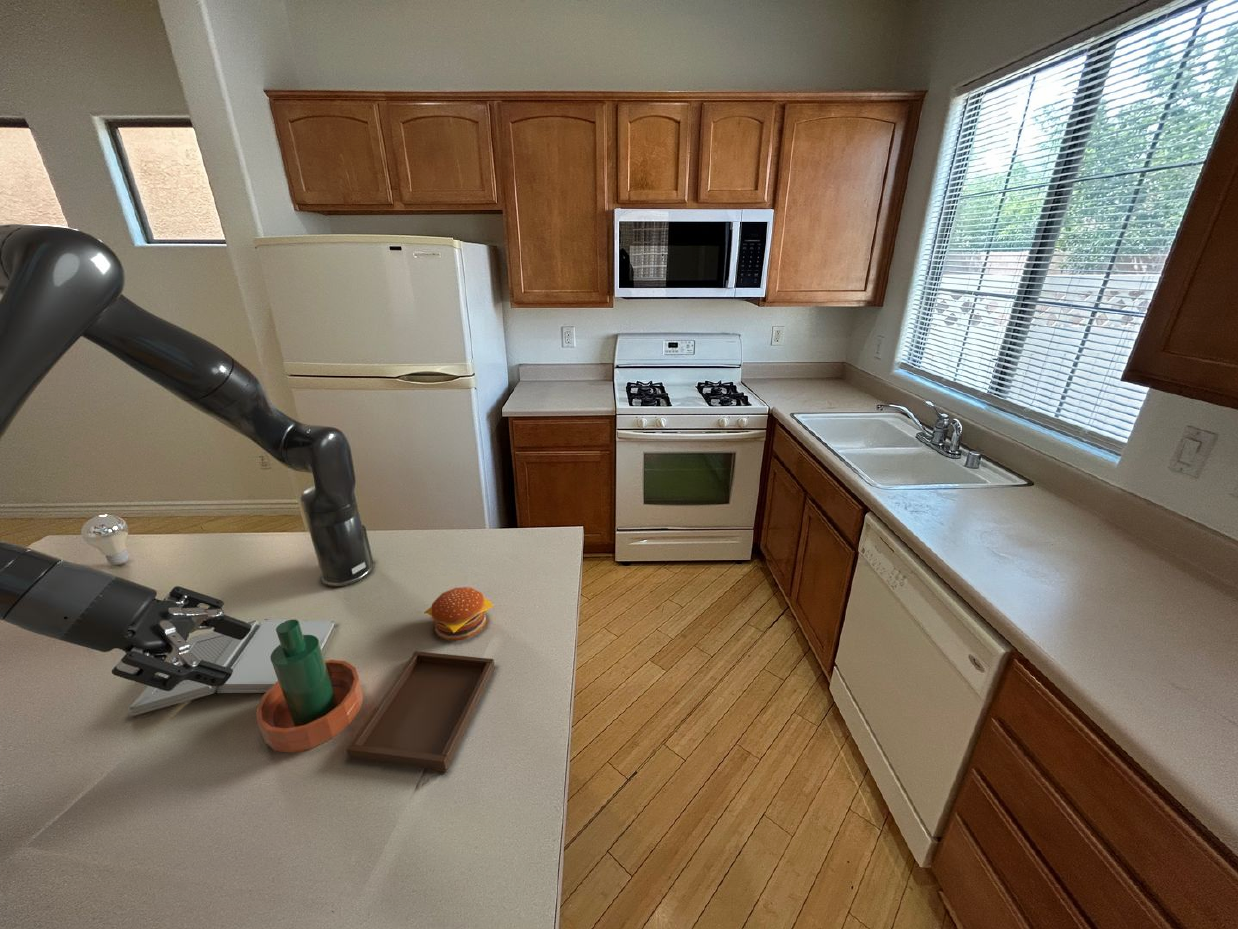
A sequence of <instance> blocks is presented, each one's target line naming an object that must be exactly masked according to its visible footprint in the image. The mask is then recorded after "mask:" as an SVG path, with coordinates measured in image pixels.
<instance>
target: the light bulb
mask: <svg viewBox="0 0 1238 929" xmlns="http://www.w3.org/2000/svg"><path fill="white" fill-rule="evenodd" d="M129 533H130V528H129V524H128V523H127V521H126V520H125V519H123V518H122V517H120V516H118V515H114V514H100V515H96V516H94V517H91V518H89V519H88V520H87V521H86V522H85V523H83V525H82V527H81V530H80V535H81V539H82V540H83V542H85V543H86V544H87V545H89V546H91V547H93V548H95V549H97V550H98V551H99V552H100V553H101V554H102V555H103V556H104V557H105V559H106V561H107V563H108V564H110V565H113V566H122V565H124V564H126V562H127V561H128V560H129V558H130V555H129V553H128V551H127V543H126V542H127V541H126V540H127V538H128V536H129Z"/></svg>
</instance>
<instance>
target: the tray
mask: <svg viewBox="0 0 1238 929" xmlns="http://www.w3.org/2000/svg"><path fill="white" fill-rule="evenodd" d="M495 669H496V666H495V659H494V658H486V657H477V656H467V655H456V654H449V653H448V654H445V653H437V652H427V651H416V650H415V651H414V652H413V654H412V655H411V656H410V658H409V659H408V661H407V662H406V663H405V665H404V666H403V668H402V669H401V671H400V672H399V674H398V675H397V676H396V678H395V679H394V681H393V682H392V684H391V685H390V686H389V688H388V689H387V691H386V692H385V694H384V695H383V696H382V698H381V699H380V701H379V702H378V704H377V705H376V706H375V708H374V709H373V711H372V712H371V714H370V715H369V716H368V718H367V719H366V721H365V723H364V724H363V726H361V728H360V729H359V731H358V732H357V734H356V735H355V737H354V738H353V739H352V741H351V742H350V743H349V745H348V747H347V748H346V753H347V756H348V758H349V759H358V760H364V761H374V762H380V763H388V764H389V763H390V764H397V765H405V766H412V767H421V768H424V771H432V772H439V773H447V772H448V770H449V767H450V765H451V764H452V761H453V759H454V757H455V755H456V753H457V750H458V748H459V746H460V745H461V743H462V740H463V737H464V736H465V733H466V731H467V729H468V727H469V724H470V723H471V720H472V718H473V716H474V714H475V712H476V710H477V708H478V705H479V703H480V701H481V699H482V697H483V695H484V693H485V691H486V689H487V686H488V684H489V682H490V680H491V679H492V678H491V677H492V675H493V673H494V671H495Z"/></svg>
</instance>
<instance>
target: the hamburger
mask: <svg viewBox="0 0 1238 929" xmlns="http://www.w3.org/2000/svg"><path fill="white" fill-rule="evenodd" d="M493 607H495V605H494V604H493V603H492V602H491V601H490V600H488V599H487V598H485V596H484V594H483V592H481V591H479V590H476V589H475V588H473V587H471V586H468V587H467V586H466V587H465V586H463V587H454V588H451V589H448V590H447V591H443V592H442V593H441V594H440V595H439V596H438V597H437V598H436V599H435V600H434V601H433V602H432V603H431V606H430V607H429V608H428V609H427V610H425V611H424V613H423V614H427V615H429V616H431V618H432V621H433V624H434V632H435V634H436V635H437V636H438V637H439V638H441V639H443V640H446V641H461V640H465V639H468V638H471V637H472V636H474V635H476V634H478V633H479V632H480V631H481V630H482V629H484V628H485V625H486V623H487V615H486V611H488V610H490V609H491V608H493Z"/></svg>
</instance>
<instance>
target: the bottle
mask: <svg viewBox="0 0 1238 929" xmlns="http://www.w3.org/2000/svg"><path fill="white" fill-rule="evenodd" d="M287 620H288V621H285V622H283V623H281V624H280V625H278V626H277V628H276V633H277V635H278V638H279V641H280V645H279V646H278V647H276V648H275V649H274V651H273V652H272V654H271V657H270V659H271V662H272V665H273V668H274V671H275V673H276V676H277V679H278V682H279V685H280V687H281V690H282V693H283V696H284V699H285V701H286V704H287V707H288V710H289V713H290V715H291V718H292V721H293V724H294V726H295V727H297V726H302V725H306V724H308V723H310V722H313V721H315V720H317V719H319V718H321V717H323V716H325V715H326V714H328V713H329V712H330V711H332V710H333V709H334V708H336V707H337V705H338V704H337V700H336V696H335V693H334V690H333V687H332V683H331V680H330V677H329V673H328V670H327V667H326V663H325V661H326V660H325V658H324V654H323V649H322V650H321V647H320V643H319V640H318V638H317V637H315V636H313V635H303V634H302V631H301V627H300V624H299V621H298V620H299V619H287Z"/></svg>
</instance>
